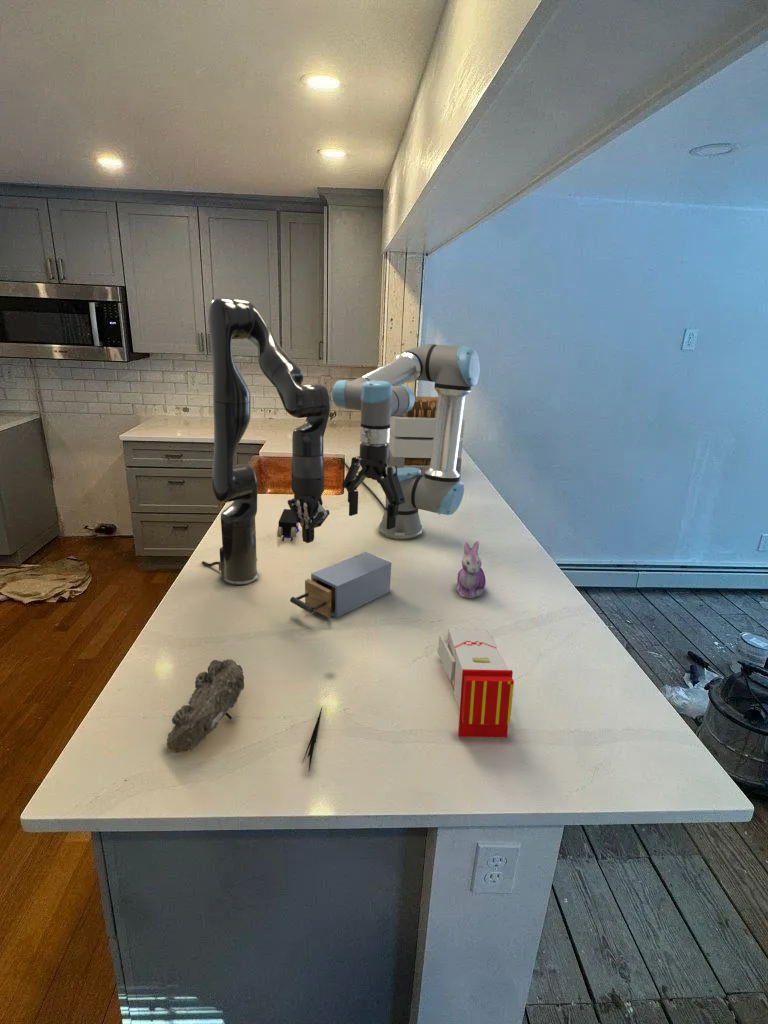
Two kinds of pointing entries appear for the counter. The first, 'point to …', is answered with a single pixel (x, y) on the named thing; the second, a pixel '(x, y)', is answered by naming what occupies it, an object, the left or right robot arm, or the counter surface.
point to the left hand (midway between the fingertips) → (308, 541)
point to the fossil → (206, 705)
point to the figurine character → (287, 525)
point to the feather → (313, 740)
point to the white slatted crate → (416, 435)
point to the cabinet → (356, 581)
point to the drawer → (317, 598)
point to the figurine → (471, 573)
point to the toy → (478, 682)
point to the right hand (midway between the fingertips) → (371, 521)
